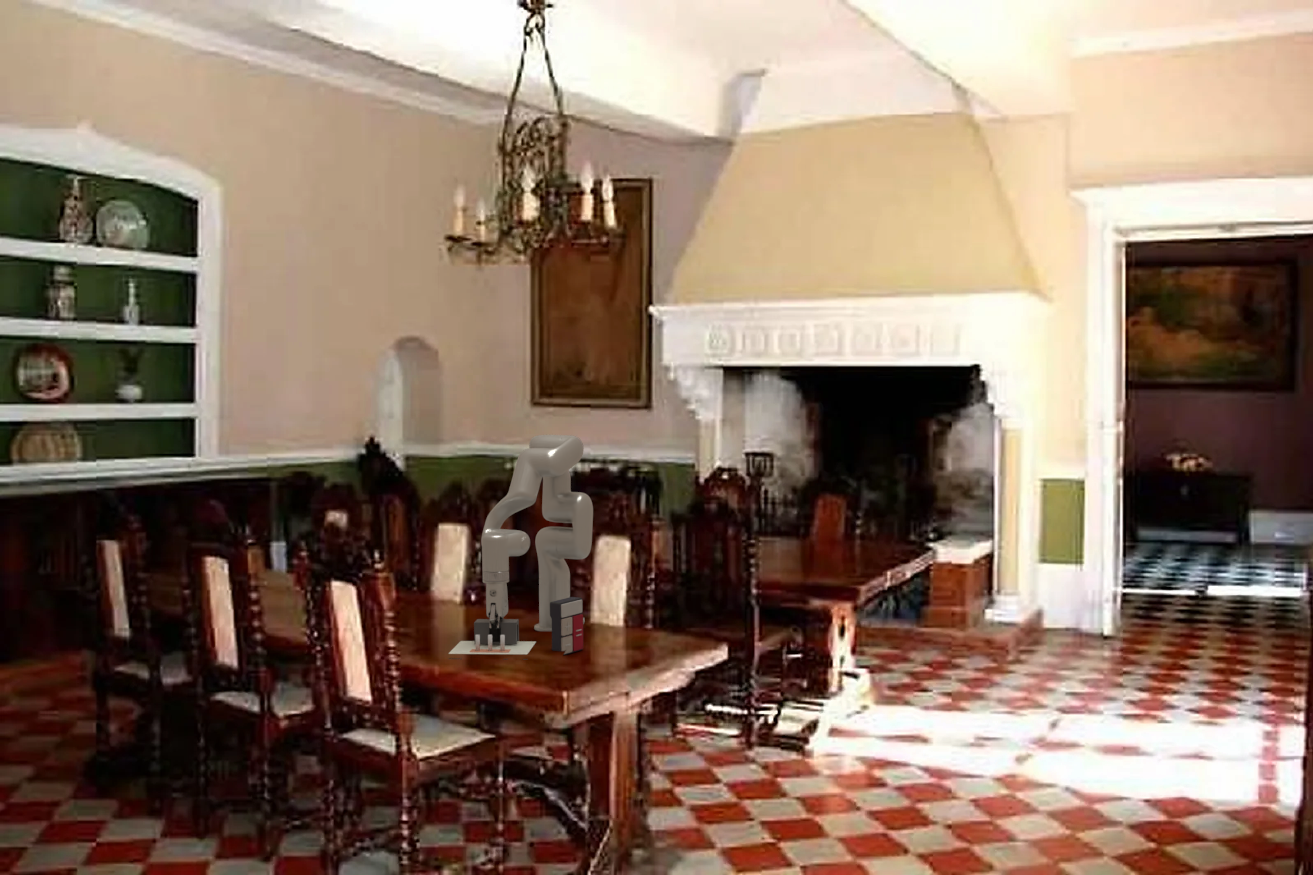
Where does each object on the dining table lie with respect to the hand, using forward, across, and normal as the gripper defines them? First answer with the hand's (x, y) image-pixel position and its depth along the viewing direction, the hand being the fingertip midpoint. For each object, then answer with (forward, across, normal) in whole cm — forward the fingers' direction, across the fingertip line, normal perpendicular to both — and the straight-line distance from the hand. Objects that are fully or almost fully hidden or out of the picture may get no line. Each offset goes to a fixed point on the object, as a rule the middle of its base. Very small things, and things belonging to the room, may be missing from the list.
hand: (496, 639), depth 399 cm
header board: (+3, -5, 0) cm, 6 cm away
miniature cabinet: (+3, -4, -21) cm, 21 cm away
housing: (+1, 0, 0) cm, 1 cm away
